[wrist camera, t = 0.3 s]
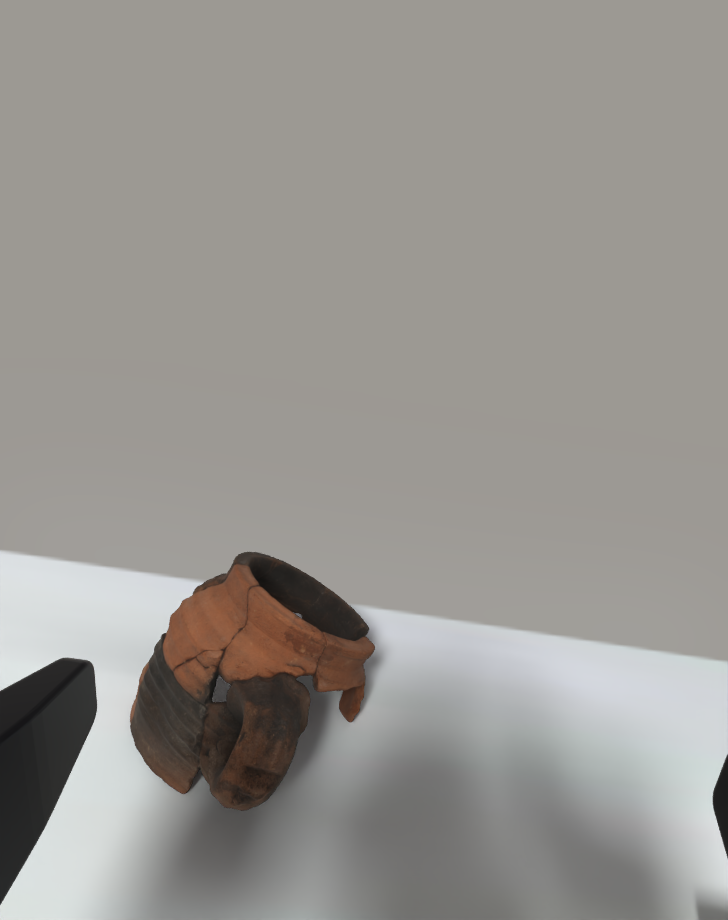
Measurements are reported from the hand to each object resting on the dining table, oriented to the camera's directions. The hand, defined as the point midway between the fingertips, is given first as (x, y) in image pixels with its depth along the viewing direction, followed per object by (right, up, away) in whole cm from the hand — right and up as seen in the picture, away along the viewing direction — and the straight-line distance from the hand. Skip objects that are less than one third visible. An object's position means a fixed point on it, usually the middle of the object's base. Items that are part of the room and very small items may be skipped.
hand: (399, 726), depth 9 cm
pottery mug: (-6, -8, +19) cm, 21 cm away
